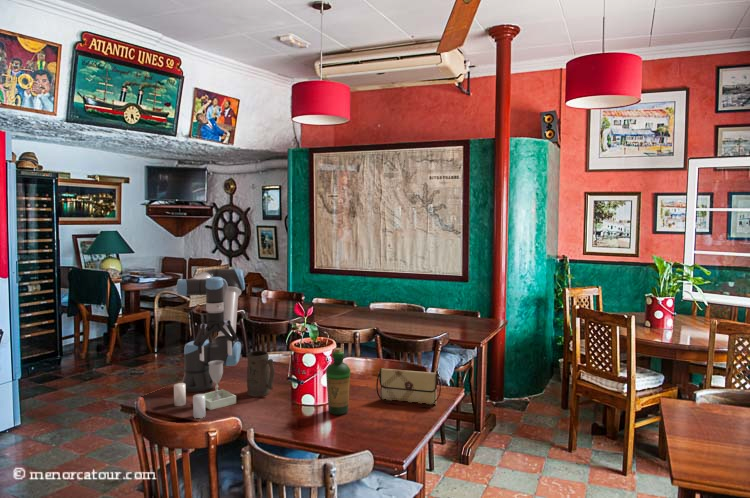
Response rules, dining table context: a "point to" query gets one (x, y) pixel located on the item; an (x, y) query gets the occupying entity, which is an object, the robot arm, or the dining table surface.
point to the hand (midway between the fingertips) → (216, 357)
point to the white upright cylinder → (179, 394)
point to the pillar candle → (199, 406)
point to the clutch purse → (408, 386)
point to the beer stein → (259, 374)
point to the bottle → (338, 384)
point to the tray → (225, 401)
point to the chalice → (216, 375)
